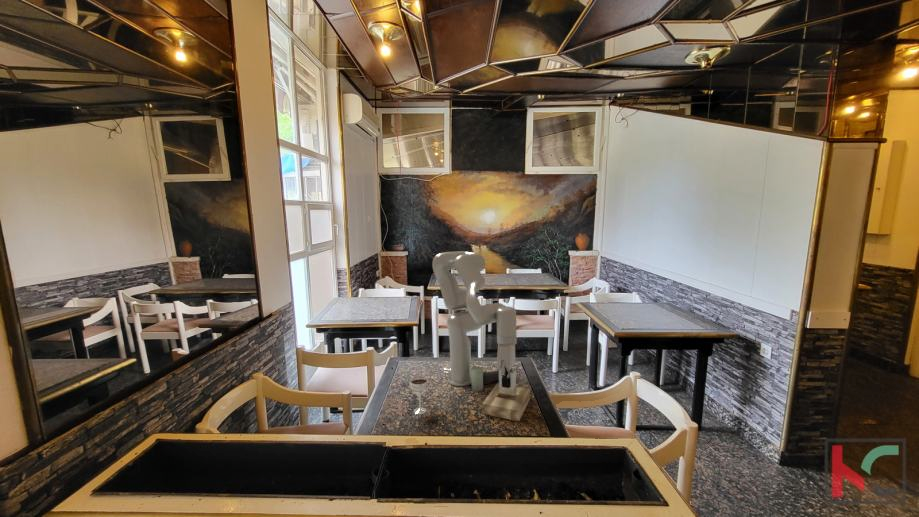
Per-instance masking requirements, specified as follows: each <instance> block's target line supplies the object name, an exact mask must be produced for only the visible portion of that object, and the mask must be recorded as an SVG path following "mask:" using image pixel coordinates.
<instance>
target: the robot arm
mask: <svg viewBox="0 0 919 517" xmlns="http://www.w3.org/2000/svg"><path fill="white" fill-rule="evenodd" d="M485 268H486V260H485V258H484V256H483V255H481V254H480V253H477V252H471V251H466V250H460V251H459V250H458V251H445V252H443V251H442V252H440V253H438V254H435V256H434V257H433V259H432V270H433V275H434V277H435V278H436V280H437V283H438V284H439V289H440V292H441V296H442V299H443V303H444V305H445V308H446V309H447V310H448V311H450V312H451V311H452V312H453V311H460V310H465V311H460V312H456V313H453V314H451V315H449V317H448V318H447V319H446V320H447V322H446V326H447V330H448V335H449V336H448V337H449V338H448V339H449V362H450V363H449V364H450V368H443V371H442V372H443V373H442V374H443V375H445V376H446V375H447V380H446V381H447V383H448V384H450V385H452V386H454V387H455V386H456V387H467V386H470V385H472V380H471V368H472V351H471V350H472V348H471V345H472V344H471V339H470V338H469V336H468V335H467V333H470V332H474V331H477V330H480V329H481V328H482V327H483V326H485V325H490V324H493V323H496V344H497V354H496V369H497V370H500V368H501V375H502V387H505V388H510V378H509V371H510V370H511V369H513V367H514V365H515V363H516V345H517V342H518V341H517V338H518V337H517V310H516V308H515V307H513V306H506V305H504V304H503V303H501V302H495V303H488V304H483V305H482V304H481V303H480V301H479V299H478V297H477V292H478V291H480V290H481V289H482V288H483V287H484V285H485V283H486V279H485V277H484V275H483V274H482V273H481V272H482V271H484V270H485ZM452 270H453V271H454V270H456V271H457V273H458V276H459V277H460V279H461V280H462V282H463V284H464V286H465V288H460V285H459V283H458V280H457V278H456V276H454V274H453V273H452V272H450V271H452ZM505 368H506V369H505ZM497 370H496V371H497ZM513 370H514V369H513ZM505 372H507V373H505Z"/></svg>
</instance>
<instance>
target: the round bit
mask: <svg viewBox="0 0 919 517" xmlns="http://www.w3.org/2000/svg"><path fill="white" fill-rule="evenodd" d="M483 372H484V369H483V367H481V366H473V367H471V380H472V384H471V391H472V392H477V393H479V392H482V391H484V384H483Z"/></svg>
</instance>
